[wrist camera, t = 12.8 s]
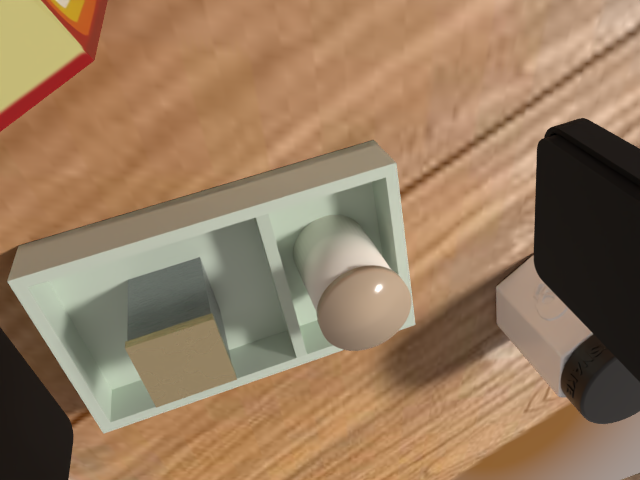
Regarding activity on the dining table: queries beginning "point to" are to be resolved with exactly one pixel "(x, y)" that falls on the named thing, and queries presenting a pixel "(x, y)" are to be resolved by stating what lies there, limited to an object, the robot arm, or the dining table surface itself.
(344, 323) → the canister
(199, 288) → the tin
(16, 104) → the baking soda box
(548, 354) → the jar
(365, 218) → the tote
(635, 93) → the dining table surface
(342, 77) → the dining table surface
